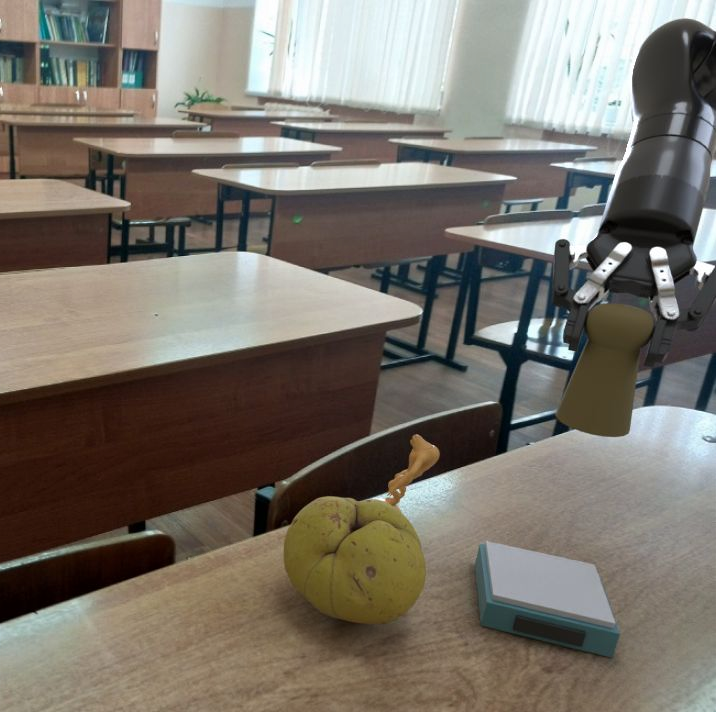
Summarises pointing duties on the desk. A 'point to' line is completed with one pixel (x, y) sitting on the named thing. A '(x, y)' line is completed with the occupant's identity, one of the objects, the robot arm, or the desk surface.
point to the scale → (544, 598)
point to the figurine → (412, 469)
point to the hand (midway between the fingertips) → (611, 354)
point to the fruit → (355, 559)
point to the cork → (606, 371)
